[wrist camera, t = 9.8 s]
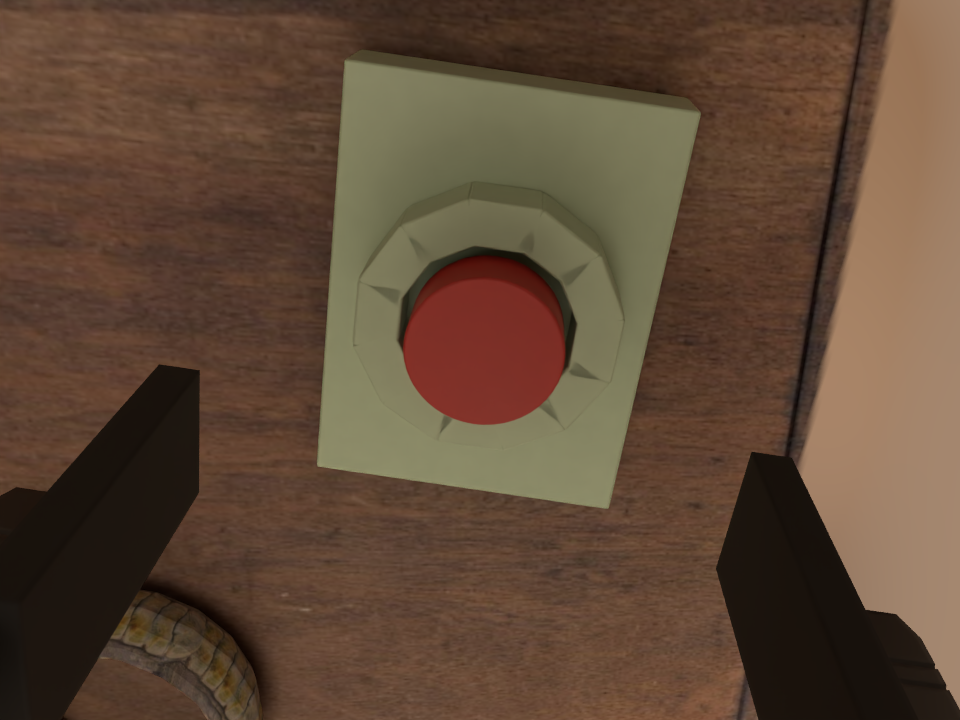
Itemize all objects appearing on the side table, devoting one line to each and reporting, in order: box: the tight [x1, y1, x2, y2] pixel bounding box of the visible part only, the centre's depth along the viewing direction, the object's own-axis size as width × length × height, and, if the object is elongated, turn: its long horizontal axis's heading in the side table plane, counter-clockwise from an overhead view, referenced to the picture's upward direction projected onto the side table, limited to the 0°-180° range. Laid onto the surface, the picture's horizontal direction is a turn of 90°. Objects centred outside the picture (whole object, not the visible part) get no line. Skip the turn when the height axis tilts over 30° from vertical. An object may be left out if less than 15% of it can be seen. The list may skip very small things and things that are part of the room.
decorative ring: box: [61, 590, 263, 720], centre depth 33 cm, size 10×3×10 cm
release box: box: [317, 49, 701, 509], centre depth 25 cm, size 12×9×4 cm
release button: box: [403, 255, 565, 425], centre depth 23 cm, size 4×4×2 cm
